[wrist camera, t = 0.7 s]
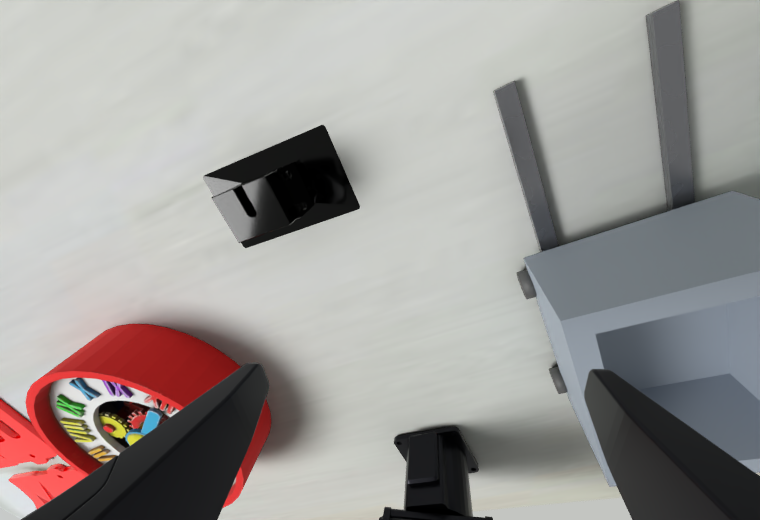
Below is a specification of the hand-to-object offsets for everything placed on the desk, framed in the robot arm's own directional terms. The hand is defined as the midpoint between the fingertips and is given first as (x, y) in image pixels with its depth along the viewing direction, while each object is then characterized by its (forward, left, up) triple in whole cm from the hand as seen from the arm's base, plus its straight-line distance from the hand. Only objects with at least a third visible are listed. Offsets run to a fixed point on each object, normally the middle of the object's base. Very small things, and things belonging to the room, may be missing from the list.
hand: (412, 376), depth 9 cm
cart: (-11, -10, -13) cm, 20 cm away
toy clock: (-9, +31, -14) cm, 35 cm away
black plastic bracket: (+5, +8, -14) cm, 17 cm away
